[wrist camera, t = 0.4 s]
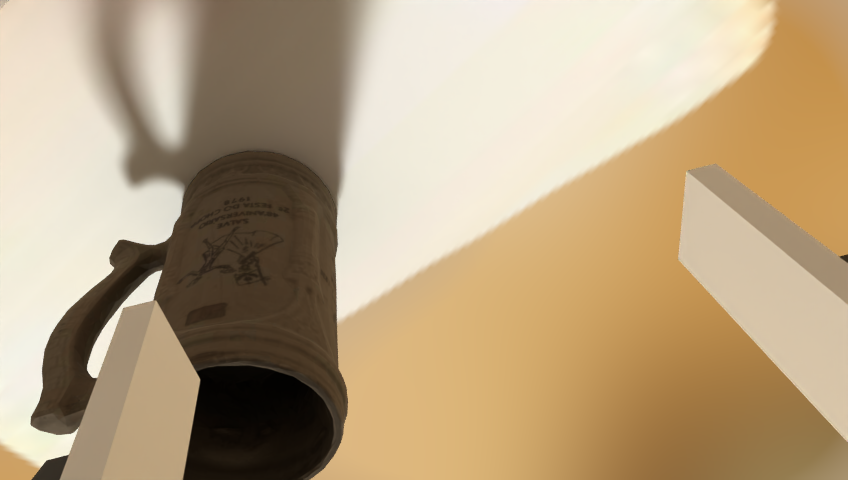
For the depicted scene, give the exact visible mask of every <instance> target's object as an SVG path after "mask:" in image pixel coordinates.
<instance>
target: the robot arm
mask: <svg viewBox="0 0 848 480" xmlns="http://www.w3.org/2000/svg"><path fill="white" fill-rule="evenodd" d="M678 259H679V261H680V262H681V263H682V264H683V265H684V266H685V267H686V268H687V269H688V270H689V272H691V274H692V275H693V276H694V277H695V278H696V279H697V280H698V281H699V282H700V283H701V284H702V286H703V287H704V288H705V289H706V290H707V291H708V292H709V293H710V294H711V295H712V296H713V297H714V298H715V299H716V301H717V302H718V303H719V304H720V305H721V306H722V307H723V308H724V309H725V310H726V311H727V313H728V314H729V315H730V316H731V317H732V318H733V319H734V320H735V321H736V322H737V323H738V324H739V325H740V327H741V328H742V329H743V330H744V331H745V332H746V333H747V334H748V335H749V336H750V337H751V338H752V339H753V341H754V342H755V343H756V344H757V345H758V346H759V347H760V348H761V349H762V350H763V351H764V352H765V353H766V354H767V356H768V357H769V358H770V359H771V360H772V361H773V362H774V363H775V364H776V365H777V366H778V367H779V369H780V370H781V371H782V372H783V373H784V374H785V375H786V376H787V377H788V378H789V379H790V380H791V381H792V383H793V384H794V385H795V386H796V387H797V388H798V389H799V390H800V391H801V392H802V393H803V394H804V396H805V397H806V398H807V399H808V400H809V401H810V402H811V403H812V404H813V405H814V406H815V407H816V408H817V410H819V412H820V413H821V414H822V415H823V416H824V417H825V418H826V419H827V420H828V421H829V423H830V424H831V425H832V426H833V427H834V428H835V429H836V430H837V431H838V432H839V433H840V434H841V435H842V437H843V438H844V439H845V440H846V441H847V442H848V255H844V256H840V257H839V256H837V255H836V254H835V253H833V252H832V251H831V250H830V249H828V248H827V247H826V246H824V245H823V244H822V243H820V242H819V241H818V240H816V239H815V238H814V237H812V236H811V235H810V234H808V233H807V232H806V231H804V230H803V229H802V228H800V227H799V226H798V225H796V224H795V223H794V222H792V221H791V220H790V219H788V218H787V217H786V216H784V215H783V214H782V213H781V212H779V211H778V210H777V209H775V208H774V207H773V206H771V205H770V204H769V203H767V202H766V201H765V200H763V199H762V198H761V197H759V196H758V195H757V194H755V193H754V192H753V191H751V190H750V189H749V188H747V187H746V186H745V185H743V184H742V183H741V182H739V181H738V180H737V179H735V178H734V177H733V176H732V175H730V174H729V173H728V172H726V171H725V170H723V169H722V168H721V167H720V166H718V165H717V164H713V165H709V166H704V167H701V168H696V169H692V170H688V171H686V181H685V192H684V204H683V214H682V224H681V235H680V246H679V257H678ZM199 384H200V378H199V376H198V375H197V373H196V371H195V369H194V367H193V366H192V364H191V362H190V360H189V358H188V357H187V355H186V353H185V351H184V349H183V348H182V346H181V344H180V342H179V340H178V339H177V337H176V335H175V333H174V332H173V330H172V328H171V326H170V324H169V323H168V321H167V319H166V317H165V315H164V314H163V312H162V310H161V308H160V306H159V305H158V303H157V301H156V300H154V301H150V302H146V303H142V304H138V305H134V306H130V307H126V308H123V311H122V313H121V316H120V319H119V321H118V324H117V327H116V329H115V332H114V335H113V337H112V340H111V343H110V346H109V348H108V351H107V354H106V356H105V359H104V362H103V364H102V367H101V370H100V373H99V375H98V378H97V381H96V383H95V386H94V389H93V391H92V394H91V397H90V400H89V402H88V405H87V408H86V410H85V413H84V416H83V418H82V421H81V424H80V427H79V429H78V432H77V435H76V437H75V440H74V443H73V445H72V448H71V451H70V454H69V455H67V456H63V457H59V458H55V459H51V460H47V461H46V462H45V463H44V465H43V466H42V467H41V468H40V470H39V471H38V472H37V473H36V475H35V476H34V477H33V479H32V480H183V475H184V469H185V464H186V458H187V452H188V447H189V441H190V435H191V430H192V424H193V418H194V413H195V407H196V401H197V396H198V390H199Z"/></svg>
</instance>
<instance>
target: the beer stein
mask: <svg viewBox="0 0 848 480" xmlns="http://www.w3.org/2000/svg"><path fill="white" fill-rule="evenodd" d="M336 226H337V216H336V210H335V205H334V202H333V200H332V197H331V195H330V192H329V190H328V189H327V188H326V186H325V185H324V184H323V182H322V181H321V180H320V179H319V177H318V176H317V175H316V174H314V173H313V172H312V171H311V170H309V169H308V168H307V167H306V166H304V165H303V164H301V163H300V162H298V161H296V160H293V159H291V158H289V157H286V156H284V155H280V154H275V153H271V152H251V151H246V152H242V153H238V154H233V155H229V156H225V157H223V158H221V159H219V160H216V161H215V162H213V163H212V164H210V165H209V166H207V167H206V168H204V169H203V170H201V171H200V172H199V173H198V174H197V176H196V177H195V178H194V180H193V181H192V182H191V184H190V185H189V187H188V189H187V191H186V194H185V196H184V199H183V203H182V209H181V215H180V217H179V218H178V220H177V221H176V223H175V225H174V228H173V233H172V236H171V237H170V238H169V239H168V240H167V241H165V242H163V243H160V244H157V245H144V244H140V243H135V242H131V241H127V240H119V241H118V243H117V244H116V245H115V247H114V248H113V250H112V253H111V255H110V258H109V259H110V264H111V265H112V266H113V267H114V270H113V271H112V273H111V274H109V275H108V276H107V277H106V278H105V279H104V280H102V281H101V282H100V283H98V284H97V285H96V286H95V287H93V288H92V289H91V290H90V291H89V292H87V293H86V294H85V295H84V296H83V297H82V298H81V299H80V300H79V301H78V302H76V303H75V304H74V305H73V306H72V307H71V308H70V309H69V310H68V311H67V312H66V314H65V315H64V316H63V318H62V319H61V320H60V321H59V323H58V324H57V326H56V327H55V329H54V331H53V332H52V334H51V336H50V338H49V341H48V343H47V346H46V348H45V351H44V359H43V367H42V377H43V390H42V393H41V397H40V401H39V403H38V405H37V407H36V409H35V411H34V413H33V414H32V416H31V426H33V427H35V428H36V429H38V430H40V431H44V432H48V433H52V434H56V435H62V434H71V433H73V432H75V431H76V430H77V429H78V427H79V426H80V424H81V421H82V418H83V416H84V413H85V410H86V408H87V405H88V402H89V400H90V397H91V394H92V391H93V389H94V386H95V383H96V381H97V378H92V377H91V376H90V374H89V373H88V371H87V364H88V360H89V357H90V354H91V351H92V348H93V346H94V344H95V342H96V340H97V338H98V336H99V335H100V333H101V331H102V329H103V328H104V327H105V325H106V324H107V322H108V321H109V319H110V318H111V317H112V316H113V315H114V313H115V312H116V311H117V310H118V308H119V307H120V306H121V304H122V303H123V302H124V301H125V300H126V299H127V298H128V297H129V295H130V294H131V293H132V292H133V291H134V290H135V289H136V288H137V287H138V286H139V285H140V284H141V283H142V282H143V281H144V280H145V279H146V278H147V277H148V276H150V275H151V274H153V273H155V272H157V271H161V270H163V271H162V274H161V277H160V280H159V283H158V286H157V289H156V292H155V296H154V300H156V301H157V303H158V305H159V306H160V308H161V310H162V312H163V314H164V315H165V317H166V319H167V321H168V323H169V324H170V326H171V328H172V330H173V332H174V333H175V335H176V337H177V339H178V340H179V342H180V344H181V346H182V348H183V349H184V351H185V353H186V355H187V357H188V358H189V360H190V362H191V364H192V366H193V367H194V369H195V371H196V373H197V375H198V376H199V378H200V384H199V390H198V396H197V401H196V407H195V413H194V418H193V424H192V430H191V435H190V441H189V447H188V452H187V458H186V464H185V469H184V475H183V480H310V479H311V478H313V477H314V476H315V475H316V474H318V473H319V472H320V471H322V470H323V469H324V468H325V466H326V465H327V464H328V463H329V461H330V460H331V459H332V457H333V456H334V454H335V453H336V451H337V449H338V447H339V445H340V443H341V440H342V436H343V428H344V423H345V420H346V416H347V408H348V398H347V389H346V385H345V382H344V379H343V377H342V375H341V373H340V371H339V369H338V348H337V306H336V269H335V257H336V252H337V246H338V241H337V228H336ZM154 300H153V301H154Z"/></svg>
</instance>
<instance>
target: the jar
mask: <svg viewBox="0 0 848 480" xmlns="http://www.w3.org/2000/svg"><path fill="white" fill-rule="evenodd" d="M8 1H9V0H0V9H1V8H2V7H3V6H4V5H5V4H6V3H7V2H8Z"/></svg>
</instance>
